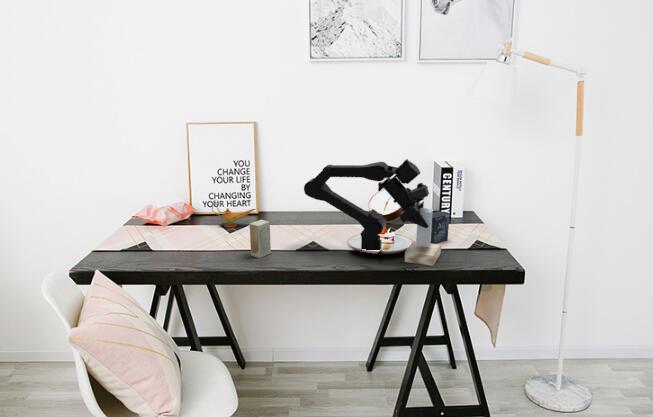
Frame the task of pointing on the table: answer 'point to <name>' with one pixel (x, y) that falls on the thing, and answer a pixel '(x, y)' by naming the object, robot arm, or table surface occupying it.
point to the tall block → (422, 232)
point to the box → (439, 227)
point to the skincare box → (260, 238)
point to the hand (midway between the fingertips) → (428, 225)
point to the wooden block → (423, 253)
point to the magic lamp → (231, 216)
